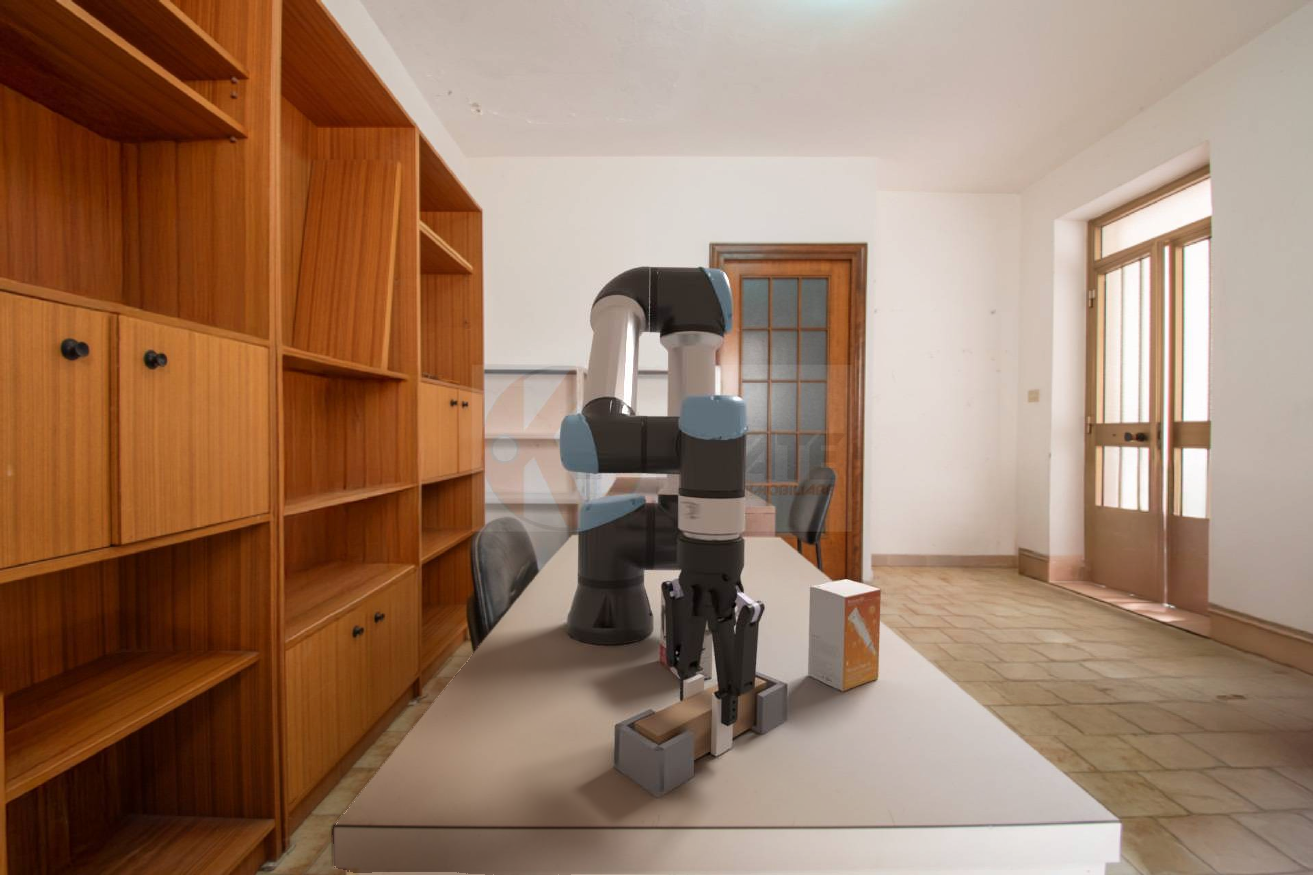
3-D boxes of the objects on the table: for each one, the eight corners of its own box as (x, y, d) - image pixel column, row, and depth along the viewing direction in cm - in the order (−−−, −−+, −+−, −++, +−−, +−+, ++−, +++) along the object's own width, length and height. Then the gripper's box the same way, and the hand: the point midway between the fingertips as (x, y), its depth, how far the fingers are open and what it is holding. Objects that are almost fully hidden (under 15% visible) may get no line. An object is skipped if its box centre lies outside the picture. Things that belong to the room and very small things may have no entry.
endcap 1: (614, 766, 58) (614, 724, 58) (649, 748, 61) (650, 708, 61) (657, 797, 53) (658, 752, 53) (693, 776, 56) (694, 733, 56)
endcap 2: (718, 712, 69) (719, 677, 69) (743, 700, 73) (744, 666, 73) (762, 734, 64) (762, 696, 64) (786, 719, 68) (787, 683, 68)
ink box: (657, 660, 85) (659, 583, 85) (686, 655, 87) (687, 580, 87) (682, 684, 77) (684, 599, 77) (713, 678, 79) (715, 595, 79)
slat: (657, 781, 55) (658, 736, 55) (634, 765, 57) (634, 722, 57) (765, 718, 67) (766, 681, 67) (742, 707, 70) (743, 672, 70)
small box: (843, 693, 75) (845, 596, 75) (806, 675, 80) (808, 585, 80) (880, 679, 80) (882, 588, 79) (843, 663, 85) (844, 577, 85)
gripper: (636, 527, 66) (633, 724, 66) (750, 549, 54) (746, 791, 54) (680, 521, 71) (677, 704, 71) (793, 540, 59) (789, 761, 59)
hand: (707, 741), depth 63 cm, fingers open, 4 cm apart
